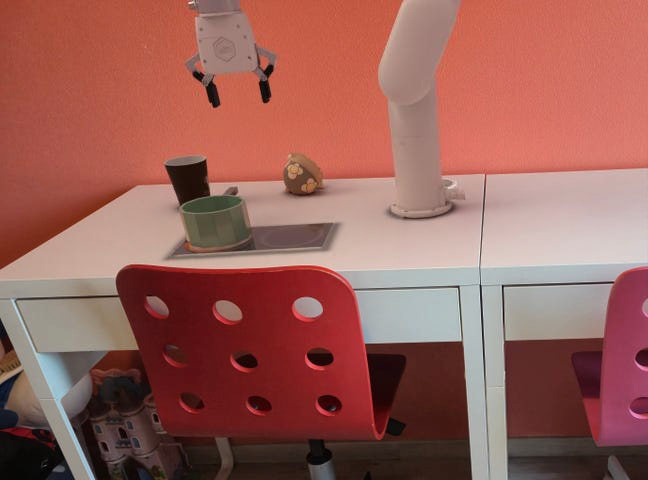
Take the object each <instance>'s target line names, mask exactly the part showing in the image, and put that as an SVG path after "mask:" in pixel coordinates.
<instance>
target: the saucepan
mask: <svg viewBox="0 0 648 480" xmlns="http://www.w3.org/2000/svg"><path fill="white" fill-rule="evenodd" d="M238 194H239V189H238V186H229V187H228V188H227V189H226V190H225V191H224V193H222V194H218V195H217V194H216V195H210V196H208V197H203V198H198V199H195V200H192V201H189V202H186V203H184V204H183V205H182V206H179V207H178V211H179V215H180V218H181V222H182V227H183V230H184V234H185V238H187V241H188V243H189V246H190V247H191V248H193V249H196V250H203V251H212V250H222V249H227V248H231V247H235V246H238V245H241V244H243V243H245V242H247V241H248V240H250V239H251V237H252V234H251V233H252V229H251V227H252V225H251V219H250V216H249V211H248V206H247V202H246V199H245V198H243V197H242V196H241V195H238Z"/></svg>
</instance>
